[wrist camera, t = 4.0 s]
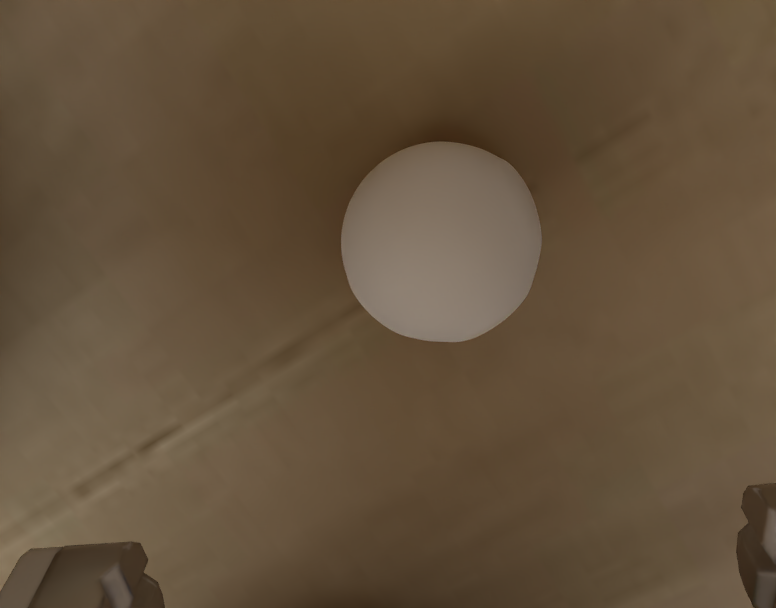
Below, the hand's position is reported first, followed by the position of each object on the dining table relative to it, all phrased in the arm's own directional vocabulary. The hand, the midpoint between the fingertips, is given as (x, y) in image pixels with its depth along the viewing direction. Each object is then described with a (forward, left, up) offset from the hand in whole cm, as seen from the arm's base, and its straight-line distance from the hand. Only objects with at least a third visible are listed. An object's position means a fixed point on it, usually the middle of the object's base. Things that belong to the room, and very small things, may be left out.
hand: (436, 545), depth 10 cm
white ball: (0, 0, -12) cm, 12 cm away
